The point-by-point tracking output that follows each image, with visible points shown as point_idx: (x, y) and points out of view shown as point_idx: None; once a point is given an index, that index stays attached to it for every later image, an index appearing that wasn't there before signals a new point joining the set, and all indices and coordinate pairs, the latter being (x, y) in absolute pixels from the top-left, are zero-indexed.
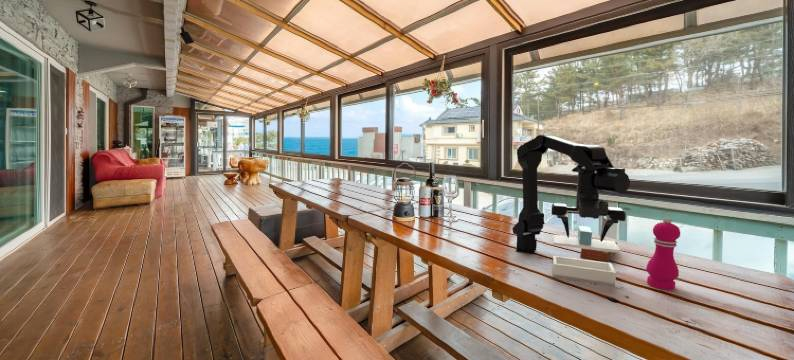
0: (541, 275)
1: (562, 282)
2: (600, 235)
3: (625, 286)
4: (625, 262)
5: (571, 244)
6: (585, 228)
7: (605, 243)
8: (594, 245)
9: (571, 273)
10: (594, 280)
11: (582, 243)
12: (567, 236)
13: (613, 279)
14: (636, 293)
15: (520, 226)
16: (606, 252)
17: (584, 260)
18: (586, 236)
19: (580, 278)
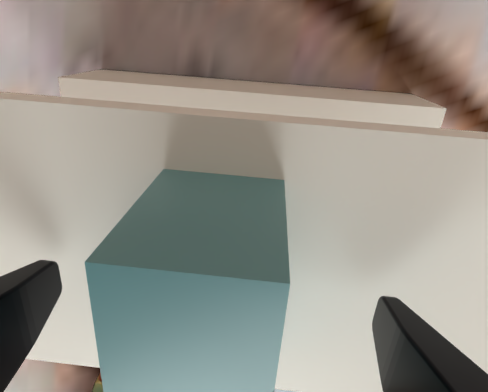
0: (479, 90)
1: (375, 18)
2: (28, 338)
3: (54, 88)
4: (48, 362)
5: (385, 134)
6: None
7: None
8: (129, 181)
9: (317, 90)
10: (193, 78)
11: (251, 179)
12: (403, 306)
13: (92, 74)
14: (7, 7)
15: None
16: (99, 387)
17: None
18: (195, 223)
19: (265, 84)
